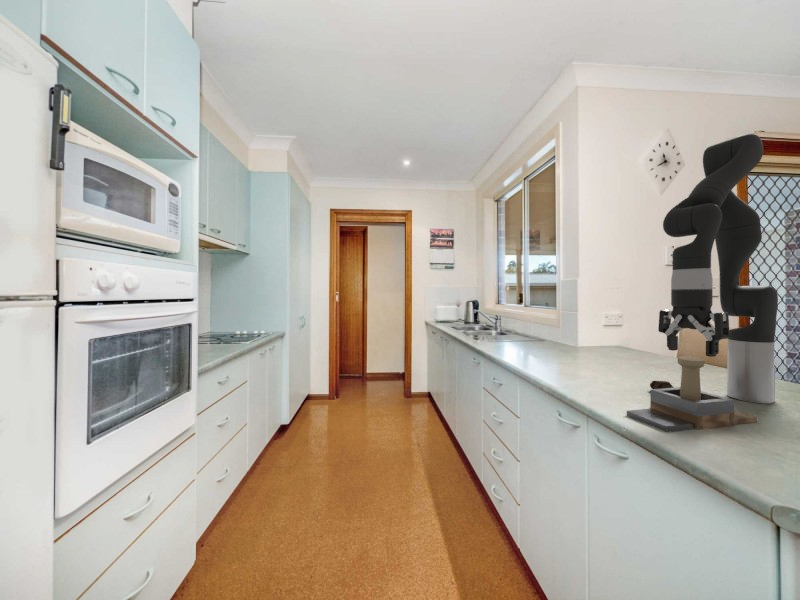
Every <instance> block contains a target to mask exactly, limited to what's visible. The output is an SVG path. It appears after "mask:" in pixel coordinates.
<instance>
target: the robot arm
mask: <svg viewBox="0 0 800 600" xmlns="http://www.w3.org/2000/svg"><path fill="white" fill-rule="evenodd" d="M763 145H764V144H763V141H762V139H761V137H760V136H759V135H758V134H756V133H747V134H743V135H739V136H736V137H732V138H730V139H728V140H724V141H721V142H718V143H716V144H715V143H714V144H712V145H710V146H708V147H707V148H706V149H705V150H704V151H703V155H702V167H703V171H704V178H703V179H702V180H700V181H699V182H698V183H697V184H696V185H695V187H694V188H693V189H692V190H691V192H690V194H688V196H687V197H686V198H684V199H683V200H682V201H680V202H679V203H678V204H676V205H675V206H674V207H672V208H671V209H670V210H669V211H668V212H667V213H666V215H665V217H664V218H663V222H662V228H663V231H664V233H665V234H666V235H667V236H669V237H671V238H682V237H690V236H695V238H694V239H693V241H691V242H690V243H687V244H684V245H680V246H678V247H677V246H676V247H675V248H673V251H672V273H671V279H670V291H671V292H670V300H671V301H670V304H671V306H672V310H670V309H661V310H659V312H658V314H659V316H658V327H657V328H658V329H657V330H658V333H662V334H664V335H666V347H667V348H668V351H678V349H679V336H678V334H679V333H680V332H681V331H682V330H684V329H690V330H697V331H698V332H699V333H700V334H702V335H703V337H704V338H705V356H707V357H709V358H711V357H716V356H717V355H719V352H720V351H719V350H720V349H719V347H720V346H719V345H720V344H719V343H720V341H721V340H726V339H727V368H726V369H727V370H726V371H727V372H726V373H727V376H726V377H727V381H726V395H727V396H728V397H730V398H732V399H734V400H735V399H736V400H740V401H745V402H749V403H757V404H773V403H774V402H775V401H776V368H775V339H776V338H775V336H776V331H777V327H776V326H777V315H778V304H779V296H778V293H777V291H776V288H774V287H773V286H771V285H740V275H741V272H742V270H743V267H744V266H745V265H746V264H747V262H748V261H749V259H751V256H752V255H753V254H754V253H755V252H756V250H757V249H758V247H759V246H760V244H761V241H762V240H763V239H762V237H763V236H762V226H761V218H760V215H759V214H758V212H757V211H756V210H755V209H754V208H753V207H752V206H751V205H749V204H748V203H746V202H745V201H744V200H742V199H741V198H740V197H739V196H737V194H735V192H733V188H735V186H737V185H738V184H739V183H740V182H741V181H742V180H743V179H744V178H745V177H747V175H748V174H749V173H750V172H751V171H753V169H755V167H757V166H758V165H759V163H760V162H761V160H762V158H763V154H764V146H763ZM714 243H715V246H716V251H717V259H718V267H719V268H718V269H719V271H718V272H719V299H720V300H719V302H720V307H721V310H722V312H712V306H713V274H712V252H713V251H712V250H713V246H714ZM729 317H737V318H738V317H739V318H740V317H741V318H743V317H744V318H753V320H752V321H753V322H751V323H750V324H748V325H745V326H741V327H736V328H731V329H730V318H729ZM672 319H673V320H672ZM671 321H672V322H671ZM711 321H713V322H714V323H713V324H714V325H713V324H712V323H711Z"/></svg>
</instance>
